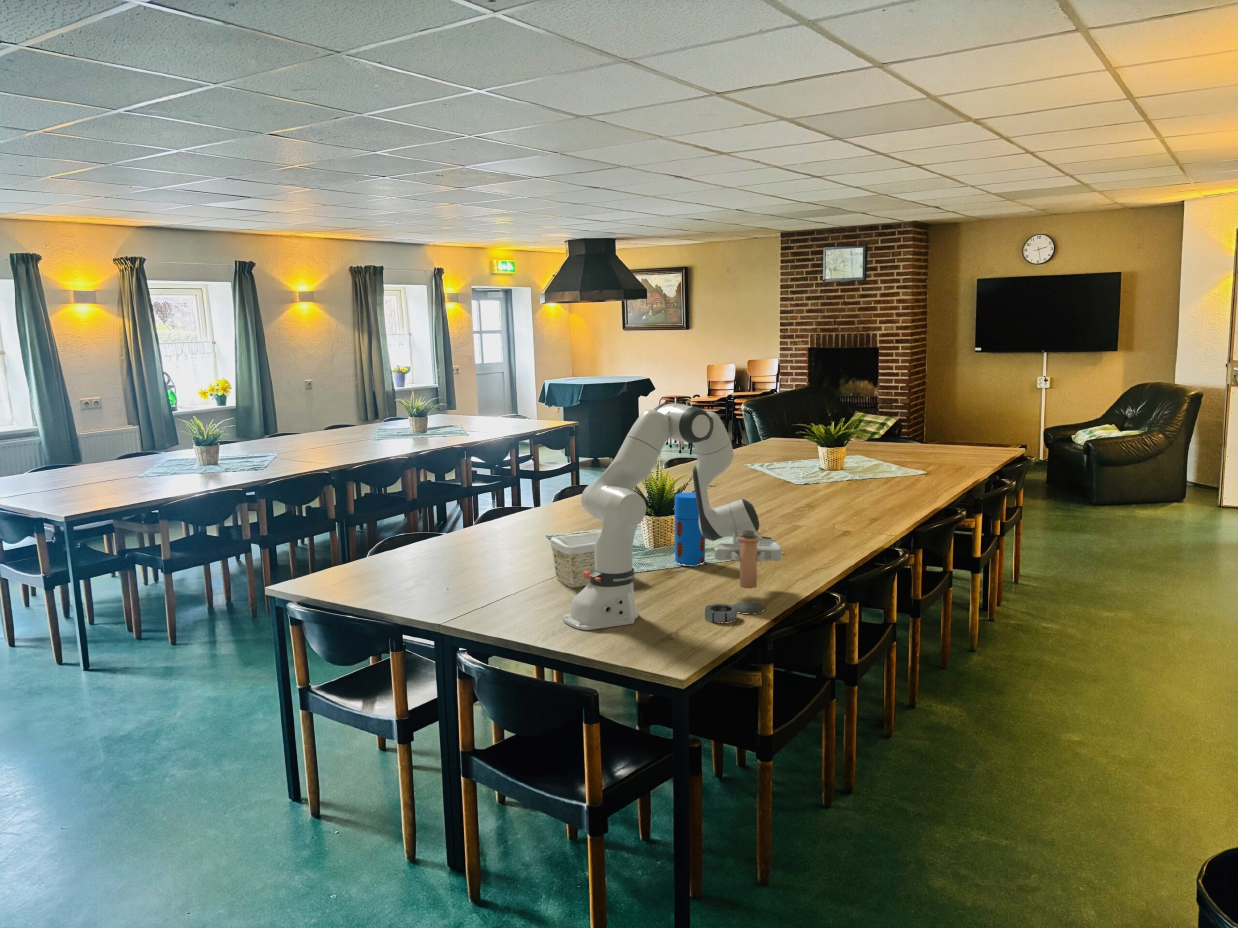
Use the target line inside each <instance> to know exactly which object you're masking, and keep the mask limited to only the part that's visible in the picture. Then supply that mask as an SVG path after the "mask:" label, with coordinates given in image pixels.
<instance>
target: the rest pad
mask: <svg viewBox="0 0 1238 928" xmlns="http://www.w3.org/2000/svg"><path fill="white" fill-rule="evenodd" d="M731 605H732V606H735V607H737V612H740V613H749V614H753V613H759V612H762V611H763V610H764V609H765V606H764V605H762V604H760V603H756V602H736V603H734V604H731ZM765 610H766V609H765ZM762 613H763V612H762Z"/></svg>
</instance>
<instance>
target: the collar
mask: <svg viewBox="0 0 1238 928" xmlns="http://www.w3.org/2000/svg"><path fill="white" fill-rule="evenodd" d="M732 605H733V604H727V603H713V604H709V605H706V606H705V609H704V619H706V620H705V621H707V620H709V621H711V622H710V623H712V622H720V623H721V622H723V623H725V622H730V621H734V620H736V619H738V613H737V607H735V606H732ZM709 621H708V622H709ZM736 621H737V620H736ZM720 623H719V624H720ZM725 624H726V623H725Z"/></svg>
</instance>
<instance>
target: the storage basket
mask: <svg viewBox="0 0 1238 928" xmlns="http://www.w3.org/2000/svg"><path fill="white" fill-rule="evenodd" d="M601 531H602V530H598V531H590V532H585V533H578V534H577V533H576V534H569V535H567V534H566V535H561V536H560V535H558V536H553V537H551V538H550V548H551V549H552V556H553V563H554V570H555V578H556V580H558V581H559V582H561V583H562V584H565V585H566V586H568V587H569V588H573V589H574V588H575V589H576V588H582V587H586V586H587V585H588V584H589V583H590V579H591V578H590V579H587V578H584V577H583V573H584V572H585V571H588V572H590V573H591V574H592V573H593V570H594V569H595V542H596V541H597V539H599V537H600V535H601Z"/></svg>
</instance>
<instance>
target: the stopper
mask: <svg viewBox="0 0 1238 928" xmlns="http://www.w3.org/2000/svg"><path fill="white" fill-rule="evenodd" d="M738 540H739V541H740V561H739V587H740V588H743V589H755V588H757V587H758V562H757V541H758V540H759V537H758V536H756V535H754V531H750V530H747V531H743V535H740V536H738Z"/></svg>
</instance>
